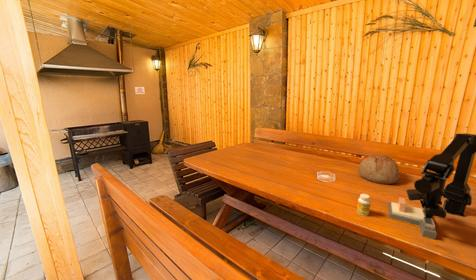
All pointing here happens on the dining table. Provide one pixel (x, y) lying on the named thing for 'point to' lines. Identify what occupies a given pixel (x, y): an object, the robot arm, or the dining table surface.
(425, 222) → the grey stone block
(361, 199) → the supplement bottle
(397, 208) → the cover
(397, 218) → the case
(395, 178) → the bread
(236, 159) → the dining table surface
